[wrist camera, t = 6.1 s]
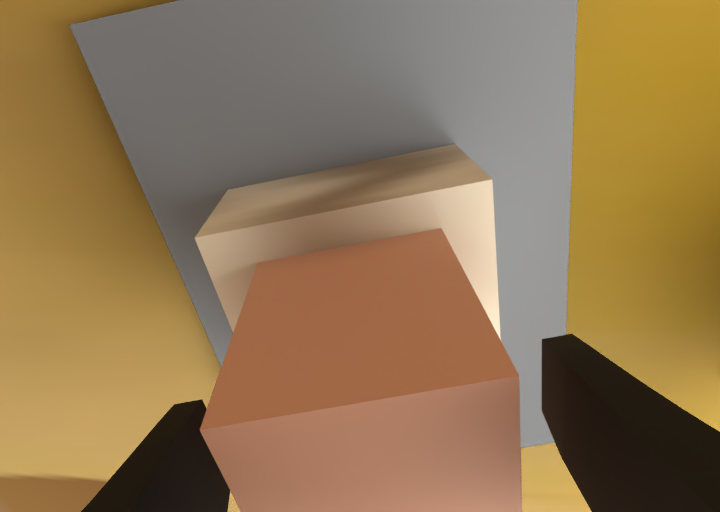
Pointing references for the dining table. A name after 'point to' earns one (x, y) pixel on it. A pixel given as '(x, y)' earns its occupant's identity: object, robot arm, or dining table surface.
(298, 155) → the baseplate
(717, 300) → the dining table surface
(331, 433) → the terracotta brick
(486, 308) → the birch block
